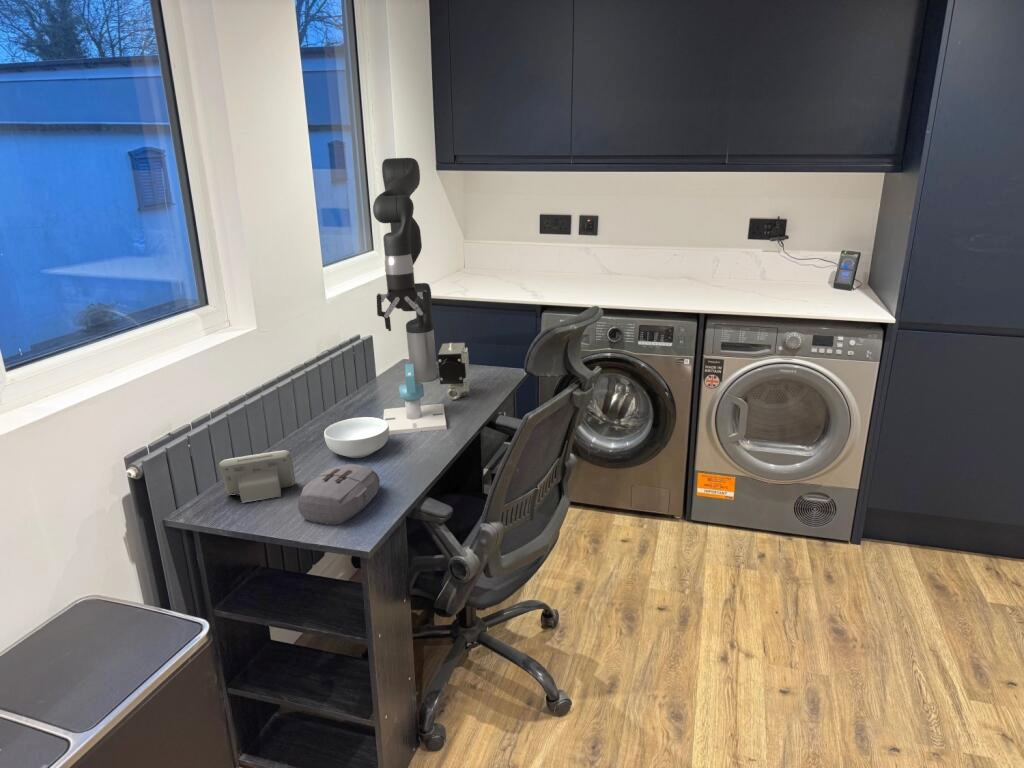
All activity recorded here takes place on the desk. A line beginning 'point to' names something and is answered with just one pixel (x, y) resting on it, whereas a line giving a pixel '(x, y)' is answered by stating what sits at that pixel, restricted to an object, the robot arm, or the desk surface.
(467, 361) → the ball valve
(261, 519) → the desk surface
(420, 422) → the base plate
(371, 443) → the cereal bowl
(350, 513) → the small grey backpack
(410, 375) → the blue switch lever
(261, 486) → the digital clock
